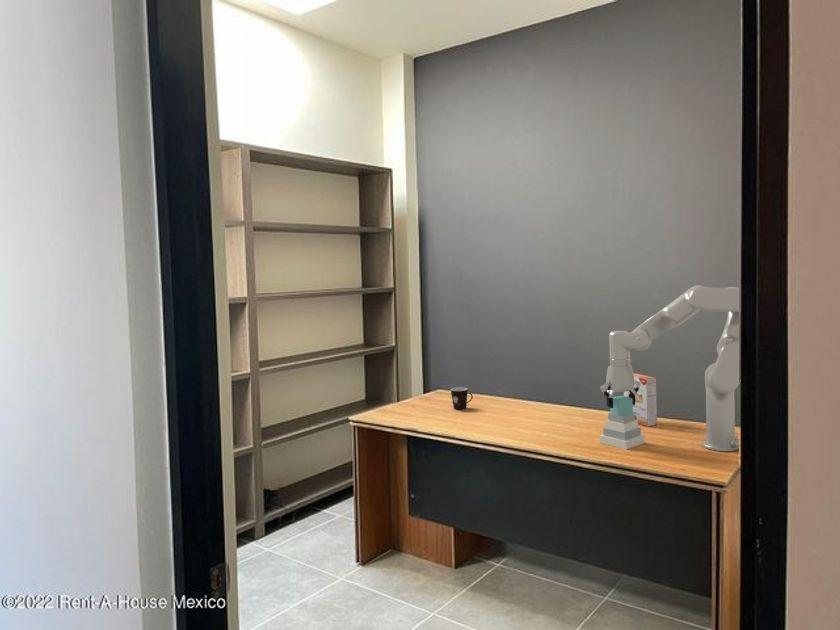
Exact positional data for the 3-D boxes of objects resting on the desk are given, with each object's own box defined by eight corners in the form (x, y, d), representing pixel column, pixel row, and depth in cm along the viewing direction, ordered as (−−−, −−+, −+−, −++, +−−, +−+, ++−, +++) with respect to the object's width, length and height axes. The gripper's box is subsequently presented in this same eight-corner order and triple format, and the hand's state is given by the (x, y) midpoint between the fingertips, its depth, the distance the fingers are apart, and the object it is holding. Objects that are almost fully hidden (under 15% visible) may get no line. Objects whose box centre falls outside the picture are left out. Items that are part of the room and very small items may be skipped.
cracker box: (623, 420, 268) (622, 373, 266) (634, 418, 270) (632, 372, 268) (647, 427, 255) (646, 378, 253) (657, 425, 258) (656, 377, 256)
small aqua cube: (623, 410, 239) (623, 395, 238) (632, 413, 233) (632, 398, 233) (610, 412, 237) (610, 397, 237) (619, 415, 232) (618, 400, 231)
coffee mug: (448, 408, 307) (447, 388, 307) (463, 405, 311) (462, 386, 310) (459, 412, 297) (458, 392, 296) (474, 410, 301) (473, 390, 300)
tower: (644, 442, 235) (644, 412, 234) (625, 449, 228) (624, 418, 227) (618, 436, 245) (618, 407, 244) (599, 442, 238) (598, 413, 237)
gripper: (633, 359, 239) (634, 401, 241) (595, 363, 235) (596, 406, 236) (645, 361, 232) (646, 405, 234) (605, 366, 228) (607, 410, 229)
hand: (621, 405), depth 235 cm, fingers open, 9 cm apart
